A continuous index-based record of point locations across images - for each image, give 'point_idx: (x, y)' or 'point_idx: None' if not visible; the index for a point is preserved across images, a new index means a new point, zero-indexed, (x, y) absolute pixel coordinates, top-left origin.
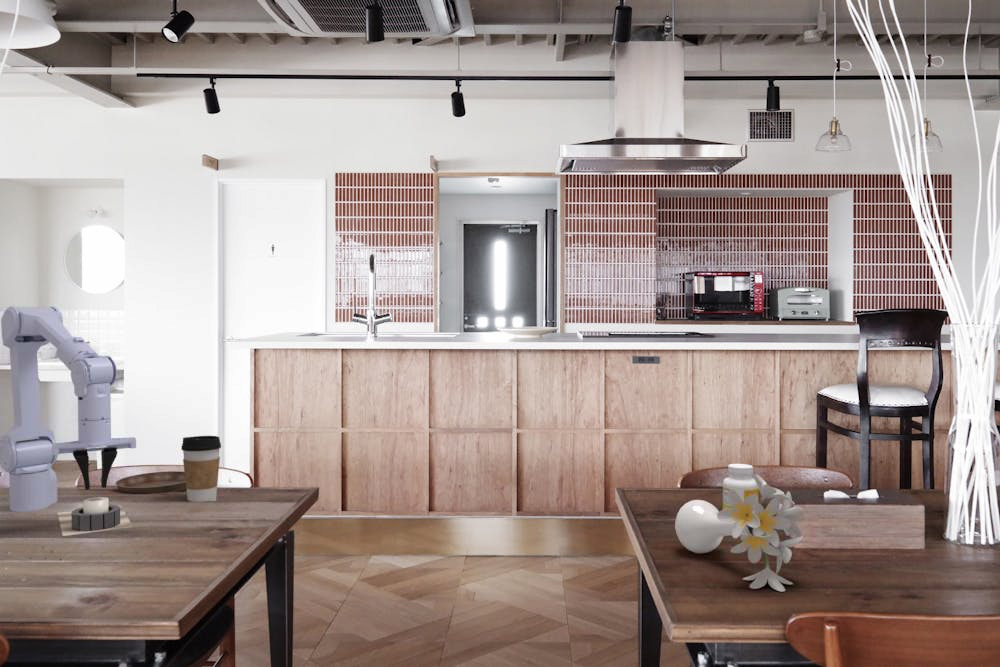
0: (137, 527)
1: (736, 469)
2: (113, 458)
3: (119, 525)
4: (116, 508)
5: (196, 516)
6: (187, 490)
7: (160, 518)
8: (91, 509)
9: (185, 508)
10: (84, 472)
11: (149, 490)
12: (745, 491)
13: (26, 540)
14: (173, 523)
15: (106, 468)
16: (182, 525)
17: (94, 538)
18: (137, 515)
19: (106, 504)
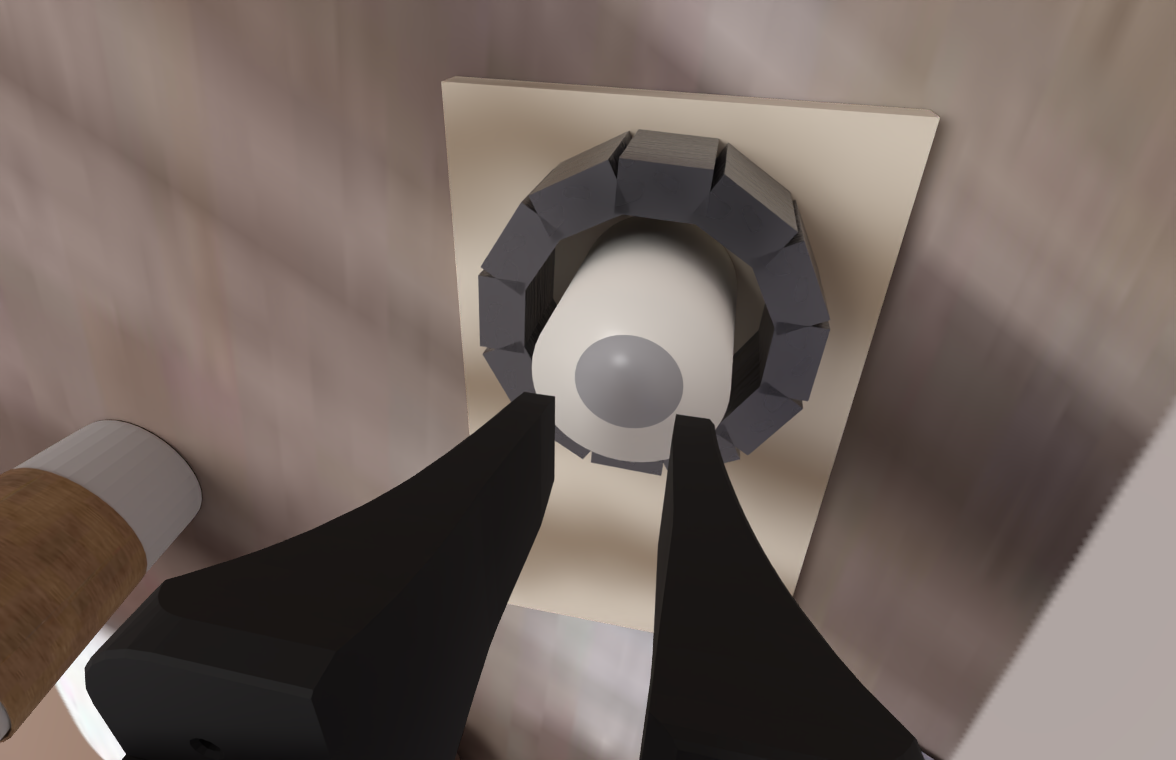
0: (426, 184)
1: None
2: (234, 567)
3: (523, 181)
4: (502, 290)
5: (116, 229)
6: (144, 528)
7: (305, 312)
8: (687, 280)
9: (202, 426)
10: (728, 537)
11: None
12: None
13: (1108, 302)
14: (221, 143)
15: (429, 505)
16: (158, 47)
17: (716, 51)
18: (421, 446)
19: (563, 300)
